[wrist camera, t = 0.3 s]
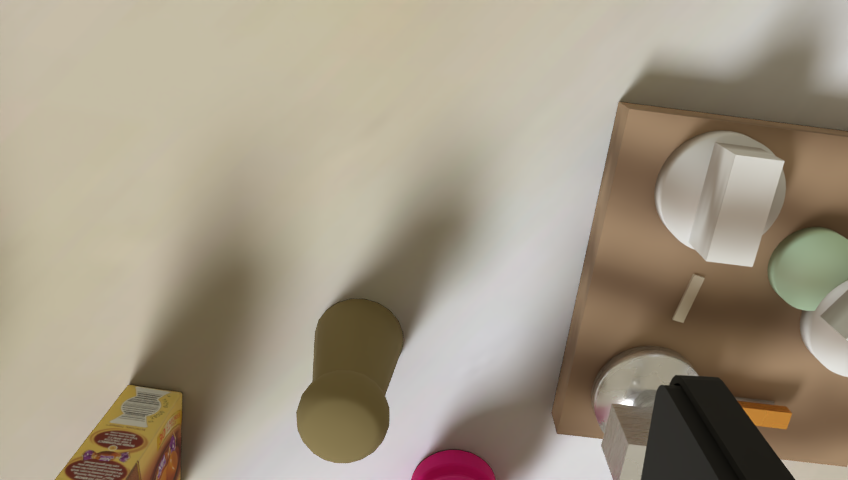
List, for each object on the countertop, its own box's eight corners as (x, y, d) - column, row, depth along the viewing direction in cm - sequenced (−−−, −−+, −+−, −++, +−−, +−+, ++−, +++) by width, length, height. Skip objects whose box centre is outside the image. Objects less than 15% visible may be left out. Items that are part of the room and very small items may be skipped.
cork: (337, 283, 48) (311, 368, 38) (418, 322, 49) (414, 414, 39) (300, 355, 50) (266, 454, 40) (379, 391, 51) (365, 496, 41)
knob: (581, 432, 49) (609, 518, 41) (603, 339, 47) (636, 412, 39) (764, 453, 49) (825, 542, 42) (795, 362, 47) (866, 439, 39)
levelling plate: (618, 101, 44) (651, 124, 38) (948, 144, 45) (1037, 173, 38) (551, 412, 52) (568, 476, 45) (835, 445, 52) (892, 513, 46)
